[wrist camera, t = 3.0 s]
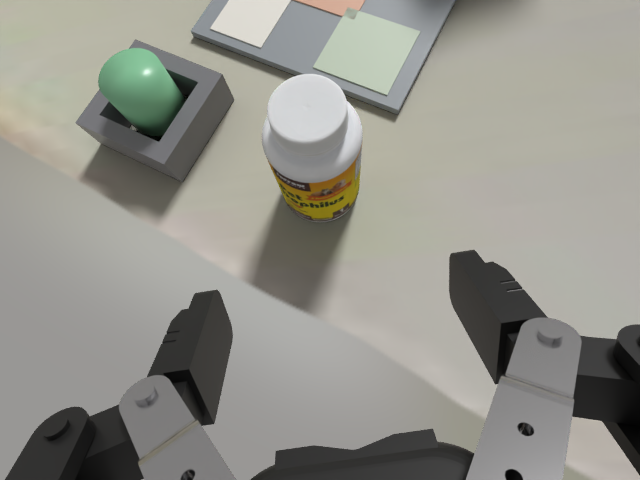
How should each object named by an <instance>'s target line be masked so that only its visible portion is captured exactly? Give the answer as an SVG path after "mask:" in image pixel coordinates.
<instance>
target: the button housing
mask: <svg viewBox="0 0 640 480" xmlns="http://www.w3.org/2000/svg"><path fill="white" fill-rule="evenodd" d="M131 48H142V49H146V50H149V51H151V52H152V53H154V54H155V55H156V56H157V57H158V59H159V60H160V62H161V63H162V65H163V66H164V68H165V69H166V71H167V72H168V74H169V75H170V77H171V78H172V80H173V81H174V82H175V84H176V85H177V87H178V88H179V90H180V91H181V93H182V94H184V95H186V96H189V97H188V99H187V100H186V102H185V103H184V105H183V106H182V108H181V109H180V111H179V112H178V114H177V115H176V117H175V118H174V120H173V121H172V123H171V125H170V126H169V128H168V129H167V131H166V132H165V134H164V135H163V137H162V138H161V140H160V141H159V142H158V141H155V140H153V139H151V138H149V137H147V136H145V135H142V134H140V133H138V132H136V131H134V130H131V129H129V127H130V125H131V123H130V122H129V121H128V120H127V119H126V118H125V117H124V116H123V115H122V114H121V113H120V112H119V111H118V110H117V109H116V108H115V107H114V106H113V105H112V104H111V103H110V102H109V101H108V99H107V98H106V97H105V96H104V95H103V94H102V93H101V91H100V89H99V91H98V92H97V93H96V95H95V96H94V98H93V99H92V100H91V102H90V103H89V104H88V106H87V107H86V109H85V110H84V111H83V113H82V114H81V116H80V117H79V118H78V120H77V121H76V124H77V125H79V126H80V127H81V128H82V129H84V130H85V131H86V132H87V133H88V134H90V135H91V136H92V137H93V138H95V139H96V140H97V141H98V142H100V143H101V144H103V145H105V146H107V147H109V148H111V149H113V150H115V151H118V152H120V153H122V154H124V155H126V156H128V157H130V158H132V159H134V160H137V161H139V162H141V163H143V164H145V165H147V166H149V167H151V168H153V169H156V170H158V171H160V172H162V173H164V174H166V175H168V176H170V177H172V178H175V179H177V180H179V181H181V182H183V180H184V179H185V177H186V176H187V174H188V172H189V171H190V169H191V168H192V166H193V164H194V163H195V161H196V160H197V158H198V156H199V155H200V153H201V152H202V150H203V149H204V147H205V145H206V144H207V142H208V141H209V139H210V137H211V136H212V134H213V133H214V131H215V129H216V128H217V126H218V125H219V123H220V121H221V120H222V118H223V117H224V115H225V113H226V112H227V110H228V109H229V107H230V105H231V104H232V102H233V101H234V98H233V96H232V94H231V92H230V89H229V87H228V85H227V83H226V81H225V79H224V77H223V75H222V74H221V73H218V72H216V71H213V70H211V69H208V68H206V67H203V66H201V65H198V64H196V63H193V62H191V61H188V60H186V59H183V58H180V57H178V56H175V55H173V54H170V53H168V52H165V51H163V50H160V49H158V48H155V47H153V46H150V45H148V44H145V43H143V42H140V41H138V40H135V41H134V42H133V44H132V45H131V46H130V48H129V49H131Z"/></svg>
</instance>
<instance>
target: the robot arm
mask: <svg viewBox="0 0 640 480" xmlns="http://www.w3.org/2000/svg"><path fill="white" fill-rule="evenodd" d="M449 292H450V299H451V302H452V305H453V308H454V310H455V312H456V313H457V315H458V317H459V319H460V321H461V322H462V324H463V326H464V328H465V330H466V332H467V333H468V335H469V337H470V339H471V341H472V343H473V344H474V346H475V348H476V350H477V352H478V354H479V355H480V357H481V359H482V361H483V363H484V364H485V366H486V368H487V370H488V372H489V374H490V375H491V377H492V379H493V381H494V383H495V384H498V386H497V389H496V392H495V395H494V398H493V401H492V404H491V407H490V410H489V413H488V416H487V418H486V421H485V425H484V427H483V430H482V433H481V437H480V439H479V442H478V445H477V448H476V451H475V454H474V453H472V452H470V451H468V450H466V449H464V448H461V447H459V446H456V445H452V444H448V443H444V442H437V440H436V437H435V434H434V431H433V429H428V430H421V431H413V432H407V433H399V434H393V435H391V436H389V437H386V438H384V439H381V440H379V441H376V442H374V443H372V444H369V445H367V446H364V447H362V448H360V449H356V450H348V449H339V448H330V447H322V446H308V447H301V448H293V449H286V450H279V451H276V457H275V465H273V466H271V467H269V468H267V469H265V470H263V471H262V472H260V473H259V474H257V475H256V476H254V477H253V478H252V479H251V480H563V473H564V466H565V460H566V453H567V447H568V440H569V433H570V427H571V420H572V416H573V417H579V418H586V419H593V420H600V421H602V422H603V423H604V424H605V426H606V427H607V429H608V430H609V432H610V433H611V435H612V436H613V437H614V439H615V440H616V442H617V443H618V445H619V446H620V448H621V449H622V450H623V452H624V453H625V455H626V456H627V458H628V459H629V461H630V462H631V463H632V465H633V466H634V468H635V469H636V471H637V472H638V474H639V475H640V325H629V326H626V327H624V328H622V329H621V330H620V331H619V333H618V336H617V339H606V338H594V337H585V336H580V335H579V334H578V332H577V331H576V330H575V329H574V328H572V327H571V326H569V325H568V324H566V323H564V322H562V321H559V320H556V319H551V318H548V317H547V316H546V315H545V314H544V313H543V312H542V310H541V309H540V308H539V307H538V306H537V305H536V303H535V302H534V301H533V300H532V299H531V297H530V296H529V295H528V294H527V293H526V292H525V290H522V287H521V286H520V285H519V283H518V282H517V281H515V279H514V278H513V276H512V275H511V274H510V273H509V272H508V271H507V269H505V268H503V267H501V266H500V265H498V264H496V263H494V262H488V263H485V262H484V261H483V260H482V259H481V257H480V256H479V255H478V253H477V252H476V251H475V250H469V251H463V252H457V253H451V255H450V263H449ZM232 338H233V335H232V326H231V322H230V320H229V317H228V314H227V311H226V309H225V306H224V303H223V300H222V297H221V294H220V293H219V291H218V290H213V291H206V292H200V293H195V294H194V296H193V299H192V301H191V304H190V306H189V309H184V310H181V311H180V313H179V314H178V315H177V316H176V317H175V318H174V319H173V320H172V321H171V323H170V326H169V328H168V330H167V335H165V337H164V339H163V344H161V346H160V348H159V351H158V353H157V355H156V358H155V360H154V362H153V364H152V367H151V369H150V371H149V374H148V376H147V378H144V379H142V380H140V381H138V382H137V383H135V384H134V385H133V386H131V387H130V388H129V389H128V390H127V391H126V393H125V394H124V395H123V397H122V398H121V401H120V404H119V405H117V406H114V407H112V408H110V409H107V410H105V411H103V412H100V413H97V414H95V415H93V416H89V415H88V414H87V412H86V411H85V410H84V409H83V408H80V407H70V408H66V409H64V410H61V411H59V412H57V413H55V414H54V415H52V416H50V417H49V418H48V419H46V420H45V421H44V422H43V423H42V424H41V425H40V426H39V427H38V428H37V429H36V430H35V431H34V433H33V434H32V436H31V438H30V439H29V441H28V442H27V444H26V446H25V448H24V449H23V451H22V452H21V454H20V456H19V457H18V459H17V461H16V462H15V464H14V466H13V467H12V469H11V471H10V473H9V474H8V476H7V477H6V479H5V480H141V479H145V480H236V479H235V477H234V475H233V474H232V472H231V471H230V469H229V468H228V466H227V465H226V463H225V462H224V460H223V458H222V457H221V455H220V454H219V452H218V451H217V449H216V448H215V447H214V445H213V443H212V442H211V440H210V438H209V437H208V435H207V434H206V432H205V431H204V429H203V428H202V426H203V425H210V424H214V422H215V418H216V414H217V409H218V404H219V400H220V395H221V391H222V386H223V381H224V377H225V372H226V368H227V363H228V358H229V354H230V349H231V345H232Z"/></svg>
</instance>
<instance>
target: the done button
mask: <svg viewBox="0 0 640 480" xmlns="http://www.w3.org/2000/svg"><path fill="white" fill-rule="evenodd" d="M98 83H99V88H100V91H101V93H102V94H103V95H104V96H105V97H106V98H107V99H108V101H109V102H110V103H111V104H112V105H113V106H114V107H115V108H116V109H117V110H118V111H119V112H120V113H121V114H122V115H123V116H124V117H125V118H126V119H127V120H128V121H129V122H130V123H131V124H132V125H133V126H134V127H135V128H136V129H137V130H138V131H140V132H141V133H143V134H145V135H149V136H159V135H164V134H165V132H166V131H167V129H168V128H169V126H170V125H171V123H172V121H173V120H174V118H175V117H176V115H177V114H178V112H179V111H180V109H181V108H182V106H183V105H184V103H185V102H186V100H185V98H184V96H183V94H182V93H181V91H180V90H179V88H178V87H177V85H176V84H175V82H174V81H173V80H172V78H171V77H170V75H169V74H168V72H167V71H166V69H165V68H164V66H163V65H162V63H161V62H160V60H159V59H158V57H157V56H156V55H155V54H154V53H152V52H151V51H149V50H146V49H142V48H131V49H126V50H123V51H121V52H119V53H117V54H115V55H114V56H112V57H111V58H110V59H109V60H108V61H107V62H106V63H105V64H104V66H103V67H102V69H101V71H100V74H99V80H98Z"/></svg>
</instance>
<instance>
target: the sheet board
mask: <svg viewBox="0 0 640 480" xmlns="http://www.w3.org/2000/svg"><path fill="white" fill-rule="evenodd" d="M455 2H456V0H212V1H211V2H210V4H209V5H208V7H207V8H206V9H205V11H204V12H203V14H202V15H201V17H200V18H199V20H198V21H197V23H196V24H195V25H194V27H193V28H192V30H191V32H192V34H193V36H194V37H196V38H199V39H201V40H204V41H207V42H209V43H212V44H215V45H217V46H220V47H222V48H225V49H228V50H230V51H233V52H235V53H238V54H241V55H243V56H246V57H248V58H251V59H254V60H256V61H259V62H261V63H264V64H267V65H269V66H272V67H275V68H277V69H280V70H282V71H285V72H288V73H290V74H293V75H295V76H298V75H302V74H317V75H321V76H324V77H327V78H329V79H330V80H332V81H334V82H335V83H336V84H337V85H338V86H339V87H340V88H341V89H342V91H343V93H344V94H345V95H348V96H350V97H353V98H355V99H358V100H361V101H363V102H366V103H368V104H371V105H374V106H376V107H379V108H381V109H384V110H387V111H389V112H392V113H395V114H397V115H398V113H399V111H400V109H401V107H402V105H403V103H404V101H405V99H406V97H407V95H408V93H409V91H410V89H411V88H412V86H413V84H414V82H415V80H416V78H417V76H418V74H419V72H420V70H421V68H422V66H423V64H424V62H425V60H426V58H427V56H428V54H429V52H430V50H431V48H432V46H433V45H434V43H435V41H436V39H437V37H438V35H439V33H440V31H441V29H442V27H443V25H444V23H445V21H446V19H447V17H448V15H449V13H450V11H451V9H452V7H453V5H454V3H455Z"/></svg>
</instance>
